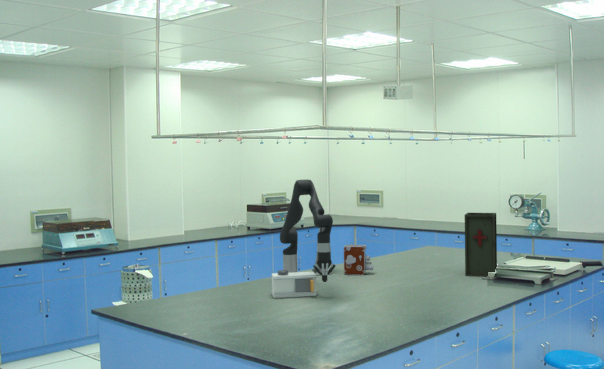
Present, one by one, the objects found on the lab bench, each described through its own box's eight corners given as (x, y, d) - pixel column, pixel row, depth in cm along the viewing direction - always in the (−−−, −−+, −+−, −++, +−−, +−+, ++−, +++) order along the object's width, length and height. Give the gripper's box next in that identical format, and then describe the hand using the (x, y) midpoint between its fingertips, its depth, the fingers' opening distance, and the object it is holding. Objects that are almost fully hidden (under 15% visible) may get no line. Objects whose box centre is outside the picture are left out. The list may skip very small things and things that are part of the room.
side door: (295, 291, 313) (295, 279, 313) (312, 290, 315) (312, 278, 315) (296, 293, 308) (296, 280, 308) (314, 292, 310) (314, 280, 310)
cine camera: (372, 275, 372) (372, 245, 371) (343, 275, 376) (342, 245, 375) (373, 273, 381) (373, 244, 380) (345, 272, 385) (344, 243, 384)
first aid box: (465, 275, 365) (464, 214, 364) (468, 271, 382) (467, 212, 381) (495, 277, 358) (494, 215, 357) (497, 272, 375) (496, 212, 374)
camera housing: (272, 294, 321) (271, 270, 321) (313, 292, 325) (312, 268, 325) (274, 298, 310) (273, 273, 310) (316, 296, 314) (316, 271, 314)
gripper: (334, 249, 316) (334, 280, 316) (311, 250, 314) (311, 281, 314) (337, 251, 308) (337, 282, 309) (313, 252, 306) (314, 283, 307)
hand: (324, 281), depth 311 cm, fingers closed
